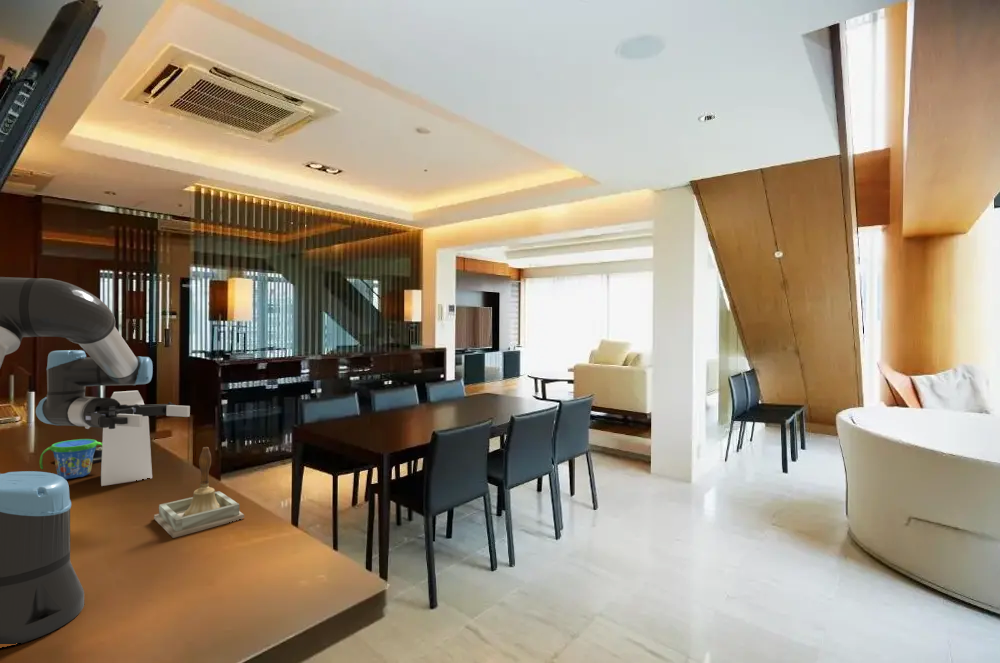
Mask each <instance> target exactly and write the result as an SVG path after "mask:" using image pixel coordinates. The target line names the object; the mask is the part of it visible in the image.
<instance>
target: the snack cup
mask: <svg viewBox="0 0 1000 663" xmlns="http://www.w3.org/2000/svg"><path fill="white" fill-rule="evenodd" d="M97 446H100V447H102V442H100V441H97V440H96V439H91V438H79V439H78V438H77V439H71V440H64V441H63V440H62V441H58V442H55V443H53V444H51V446H48V447H47V448H46V449H44V450H43V451H42V453H41V454H40V457H39V467H40V470H43V469H44V465H43V464H44V463H43V462H44V461H43V460H44V454H45V453H46V452H48V451H51V452H52V453H53V458H54V464H55V465H54V466H55V470H56V475H58V476H61V477H63V478H64V479H65V480H71V479H76V478H83V477H85V476H88V475H90V474H91V471H92V467H93V466H92V465H93V464H92V461H93V455H94V453H95V449H96V448H97Z"/></svg>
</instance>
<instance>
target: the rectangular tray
mask: <svg viewBox="0 0 1000 663" xmlns="http://www.w3.org/2000/svg"><path fill="white" fill-rule="evenodd" d="M215 497H216V500H217V502H218V503H219V504H220V505H221V506H222V507H220V508H216V509H212V510H208V511H204V512H200V513H196V514H192V515H188V516H184V512H185V511H186V510H187V509H188V508H189V506H190V505H191V502H192V499H193V496H192V497H191V496H190V497H186V498H183V499H178V500H174V501H170V502H164V503H161V504H158V513H155V514H154V515H153V520H155V521H156V522H157V524H158V525H160V526H161V528H162V529H164V530H165V531H166V532H167V534H168V535H169V536H170V537H171V538H173V539H174V538H179V537H181V536H185V535H189V534H190V535H191V534H193V533H196V532H200V531H203V530H208V529H211V528H214V527H217V526H222V525H226V524H229V522H230V523H233V522H237V521H240V520H239V519H241V520H243V519H242V518H244V519H245V514H244V513H243V512H241V511H240V503H239V502H236V501H235V500H234V499H232V498H231V497H230V496H228V495H226V494H225V493H223V492H222V491H220V490H218V491H215ZM236 520H237V521H236ZM232 521H233V522H232Z"/></svg>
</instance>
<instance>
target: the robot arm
mask: <svg viewBox="0 0 1000 663" xmlns="http://www.w3.org/2000/svg"><path fill="white" fill-rule="evenodd" d="M35 337H36V338H37V337H39V338H41V337H49V338H50V337H54V338H55V337H58V338H65V339H66V340H67V341H69V342H72V343H74V344H78V345H79V346H80V347H81V348H82V349H79V350H78V349H75V350H74V349H72V350H71V349H69V350H67V349H66V350H52V351H50V352H49V353H48V356H47V366H46V383H47V384H46V386H47V387H46V388H47V392H46V393H47V394H46V396H45V397H44V398H42V399H41V400H40V401H39V402H38V404H37V406H36V408H35V414H36V417H37V418H38V420H39V421H40V422H43V423H44V424H48V425H54V426H65V427H66V426H69V427H70V426H71V427H73V426H74V427H84V428H85V429H87V430H89V429H90V428H99V429H103V428H107V427H109V429H115V424H117V426H130V427H142V416H148V417H152V416H167V417H181V418H182V417H184V418H188V417H189V418H190V417H191V414H190V413H191V406H190V405H178V404H177V405H176V404H175V403H172V402H171V401H169V402H168V403H159V404H153V403H152V404H144V405H138V404H135V405H126V404H125V405H120V403H119V402H118V401H117V400H115V399H113V398H111V397H98V396H86V387H98V386H99V387H101V386H102V387H103V386H106V387H107V386H136V385H146V384H149V383H150V382H151V381H152V378H153V372H154V371H153V369H154V368H153V366H154V365H153V361H152V359H151V358H150V357H149V356H136V355H135V354H134V352H133V350H132V349H131V348H130V347H129V345H128V344H127V342H126V340H125V339H124V338H123V337H122V335H121V333H120V332H119V330H118V329H117V327H116V318H115V315H114V313H113V312H112V311H111V309H110V307H109V306H108V305H107V304H106V303H104V302H103V301H102V300H101V299H100V298H98V297H97V296H95V295H94V294H93V293H91V292H90V291H87V290H85V289H83V288H81V287H79V286H77V285H75V284H72V283H69V282H66V281H62V280H59V279H58V280H57V279H53V278H47V277H46V278H41V277H40V278H35V277H34V278H33V277H9V276H7V277H5V276H0V369H1V367H2V364H3V363H4V359H5V356H7V355H10V354H12V353H14V352H16V351H17V350H18V349H19V347H20V345H21V343H22V340H23V338H35ZM86 353H87V354H86ZM87 355H88V357H87ZM133 412H134V414H133ZM70 497H71V496H70V487H69V483H68V481H67V479H64V478H63V477H61V476H58V475H57V473H53V472H52V473H51V472H47V471H37V470H35V471H33V470H31V471H30V470H28V471H27V470H26V471H25V470H24V471H22V470H21V471H8V472H5V473H0V644H16V643H17V644H18V643H21V644H24V643H28V642H30V641H34V640H35V639H38V638H40V637H41V638H42V637H43V636H45V635H48V634H50V633H52V632H54V631H56V630H58V629H60V628H61V627H63V626H64V625H67V624H68V623H69V622H71V621H73V620H74V619H75V618H76V617H77V616H78V615H79V614H80V613H81V612H82V610H83V609H84V607H85V590H84V588H83V586H82V584H81V582H80V579H79V577H78V575H77V573H76V571H75V569H74V567H73V564H72V561H71V508H72V500H71V498H70ZM18 645H19V644H18Z"/></svg>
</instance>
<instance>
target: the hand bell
mask: <svg viewBox="0 0 1000 663" xmlns="http://www.w3.org/2000/svg"><path fill="white" fill-rule="evenodd" d="M198 463H199V464H198V465H199V470H200V472H201V474H200V484H199V485H200V486H199V488H197V489H195V490H194V491H193V496H192V497H193V499H192V502H191V505H190V506H189V508H188V509H187V510H186V511H185V512H184V516H188V515H192V514H196V513H200V512H204V511H208V510H212V509H216V508H220V507H222V506H221V505H220V504H219V503H218V502H217V500H216V497H215V492H216V490H215V488H214V487H212V486H211V487H210V486H209V472H210V469H211V465H212V454H211V451H210V448H209V447H208V446H203V447H202V450H201V453H200V454H199V458H198Z"/></svg>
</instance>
